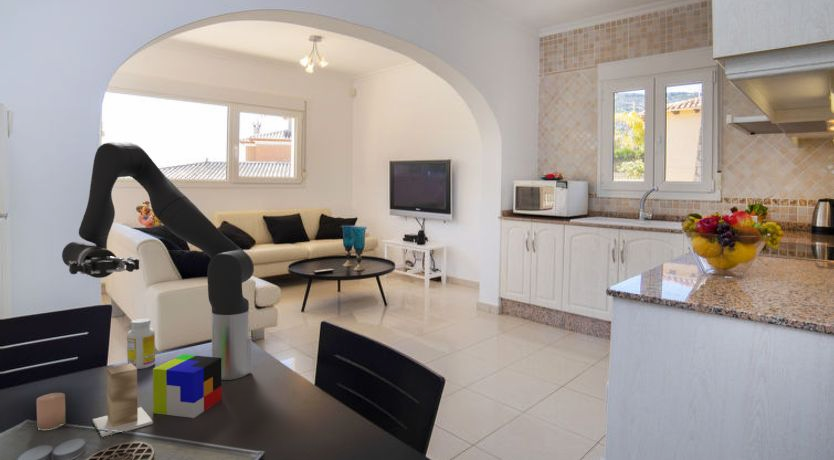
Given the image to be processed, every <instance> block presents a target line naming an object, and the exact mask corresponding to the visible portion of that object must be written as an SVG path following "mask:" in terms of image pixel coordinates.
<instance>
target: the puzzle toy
mask: <svg viewBox="0 0 834 460" xmlns="http://www.w3.org/2000/svg"><path fill="white" fill-rule="evenodd" d="M152 399H153V400H152V401H153V402H152V407H153V408H152V409H153V411H152V412H153V413H152V414H158V415H167V416H175V417H183V418H184V417H185V418H192V419H195V418H197V417H198V416H199V415H201V414H202V413H203V412H205V411H206V410H208V409H210V408H211V407H213V406H214V405H215V404H217V403H218V402H220V401H221V400H222V380H221V358H217V357H212V356H204V355H194V354H181V355H180V356H177V357H175V358H173V359H171V360H169V361H167V362H164V363H162V364H159V365H157V366H156V367H154V368H152Z"/></svg>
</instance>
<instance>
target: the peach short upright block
mask: <svg viewBox="0 0 834 460" xmlns="http://www.w3.org/2000/svg"><path fill="white" fill-rule="evenodd" d="M66 423H67V422H66V394H65V393H63V392H51V393H47V394H44V395H41V396H39V397H37V398H36V424H37V425H36V426H37V427H38V428H40V429H51V428H54V427H56V426H58V425H60V424H65V425H66ZM37 427H36V428H37Z"/></svg>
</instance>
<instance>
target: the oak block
mask: <svg viewBox="0 0 834 460" xmlns="http://www.w3.org/2000/svg"><path fill="white" fill-rule="evenodd" d="M106 395H107V397H106V398H107V399H106V403H107V407H106V408H107V409H106V410H107V415H108V421H109V423H110V424H111V426H112V427H115V426H119V425H123V424H127V423H131V422H134V421H138V410H137V408H138V369H137V368H136V367H135V366H134V365H133V364H132V363H130V364H128V363H127V364H126V363H125V364H121V365H116V366H111V367H110V366H109V367H107V368H106Z"/></svg>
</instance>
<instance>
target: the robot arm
mask: <svg viewBox="0 0 834 460" xmlns="http://www.w3.org/2000/svg"><path fill="white" fill-rule="evenodd" d="M126 177H128V178H129V177H130V178H133V179H134V180H135V181H136V182H137V183H138V184H139V185H140V186H141V187H142V188H143V189H144V190H145V191H146V193H147V195H148V197H149V202H150V207H151V210H152V212H153V214H154V216H155V217H156V219H158V221H159V222H160V223H161V224H162V225H163V226H164V227H165V228H166V229H167V230H168V231H169V232H170V233H172V234H173V235H175V236H176V237H177V238H179V239H181V240H183V241H184V242H186V243H189V244H191V246H194V247H195V248H197V249H199V250H201V251H202V252H203V253H205V254H206V255H207V256H208V257H209V258H210V261H209V263H208V265H207V274H206V276H207V278H206V279H207V295H208V296H207V297H208V302H209V304H210V306H211V357H217V358H221V381H231V380H237V379H240V378H244V377H245V376H247V375H249V374H252V370H253V369H252V367H253V366H252V365H253V364H252V362H253V361H252V358H253V357H252V356H253V355H252V352H253V351H252V350H253V349H252V346H253V343H252V342H253V341H252V340H253V339H252V337H249V335H250V334H249V331H250V328H249V326H250V325H249V324H250V323H249V322H250V321H249V320H250V319H249V315H250V311H249V310H250V309H249V308H250V306H249V305H250V302H249V300H248V299H247V298H246V297H244V295H243V283H245V282H247V281H249V279H252V277H253V275H254V270H255V266H254V262H253V260H252V258H251V256H250V255H249V254H248V253H247V252H246V251H244V250H243V249H242V248H241V247H240V246H238V245H237V244H236V243H234V242H233V241H232V240H231V239H230V238H228V237H227V236H226V235H225V234H224V233H222V232H221V230H219V229H218V228H217V226H215V224H214V223H213V222H212V221H211V220H210V219H209V218H208V217H207V216H206V215H205V214H204V213H203V212H202V211H201V210H200V209H199V208H198V207H197V206H196V205H195V204H194V203H193V201H191V200H190V199H189V197H187V196H186V195H185V194H184V193H183V192H181V190H180V189H179V188H178V187H177V186H176V185H175V184H174V183H173V181H171V180H170V179H169V178H168V177H167V176H166V175H165V174H164V172H162V171H161V170H160V168H159V167H158V165H157V164H156V163H155V162H154V161H153V160H152V158H151V157H150V156H149V154H148V153H147V152H146V151H145V150H144V149H143V148H142V147H140V146H139V145H138V144H136V143H133V142H127V141H126V142H115V141H114V142H106V143H102V144H101V145H100V146H98V148H97V149H96V151H95V154H94V159H93V165H92V172H91V180H90V185H89V186H90V187H89V193H88V195H89V196H88V201H87V204H86V205H87V206H86V209H85V212H84V214H83V217H82V220H81V223H80V226H79V229H78V236H79V237H80V238H81V239H82V240H84V241H87V243H86V242H82V241H81V242H80V241H71V242H68V243H67V244H66V245H65V246H64V248H63V250H62V252H61V259H62V262H63V264H65V266H67V267H68V271H69V273H70V275H76V274H78V273H80V274H82V275H87V276H90V277H92V278H96V279H97V278H98V279H101V278H102V279H103V278H106V277H108V276H111V275H113V273H122V272H125V271H127V272H129V273H130V272H134V271H138V270H140V259H139V258H134V257H131V256H129V257H127V259H125V258H124V257H117V256H116V254H115V252H114V253H113V251H111V250H110V249H108V246H107V245H108V239H109V234H110V231H111V229H112V226H113V223H114V220H115V216H116V210H115V205H114V203H113V198H112V197H113V195H112V192H113V187H114V185H115V184H116V182H117V180H118V178H126ZM88 242H89V243H88Z"/></svg>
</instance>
